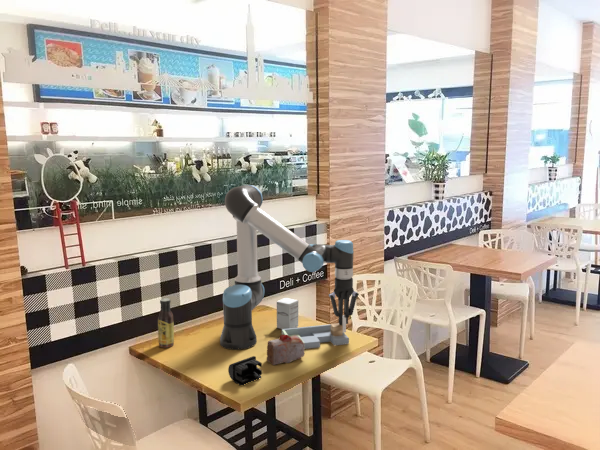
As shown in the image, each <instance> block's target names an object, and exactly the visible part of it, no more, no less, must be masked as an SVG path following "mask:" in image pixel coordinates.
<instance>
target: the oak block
mask: <svg viewBox="0 0 600 450" xmlns="http://www.w3.org/2000/svg"><path fill="white" fill-rule="evenodd" d="M330 324H331V334H332V335H333V336H342V335H343V326H342V325H340V324H339V322H338V323H330Z"/></svg>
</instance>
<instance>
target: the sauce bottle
mask: <svg viewBox="0 0 600 450" xmlns="http://www.w3.org/2000/svg"><path fill="white" fill-rule="evenodd" d="M159 303H160V311H159V314H158V317H157V334H158V335H157V337H158V338H157V339H158V341H157V342H158V346H159V347H160V348H164V349H167V348H171V347H173V346H174V342H175V334H174V333H175V331H174V330H175V328H174V327H175V324H174V314H173V312H172V311H171V299H170V298H169V297H165V298H160V300H159Z"/></svg>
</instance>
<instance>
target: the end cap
mask: <svg viewBox="0 0 600 450" xmlns="http://www.w3.org/2000/svg"><path fill="white" fill-rule="evenodd" d="M262 367H263V365H262V362H261V361H259V360H257V357H256V356H254V355H253V356H250V357H247V358H244V359H242V360H238V361H235V362H233V363H230V364H229V365H228V368H227V370H228V375H229V378H230V379H231V380H232V382H234V383H235V384H237V385H238V384H239V385H238V386H240V385H243V386H245V385H244V384H246V383H248V382H251V381H253V382H255V381H254V380H256V379H258V380H260V379H259V378H261V379H262V374H263V370H262V369H261V368H262ZM256 381H257V380H256ZM251 383H252V382H251ZM248 384H249V383H248ZM246 385H247V384H246Z"/></svg>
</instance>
